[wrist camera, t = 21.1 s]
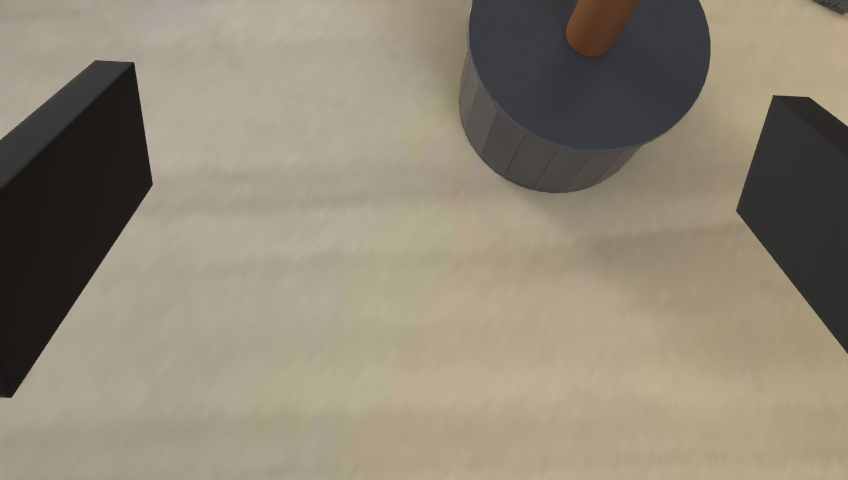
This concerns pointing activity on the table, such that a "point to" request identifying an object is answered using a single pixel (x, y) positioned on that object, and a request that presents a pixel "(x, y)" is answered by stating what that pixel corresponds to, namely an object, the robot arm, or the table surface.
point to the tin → (527, 148)
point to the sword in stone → (835, 5)
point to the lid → (590, 67)
